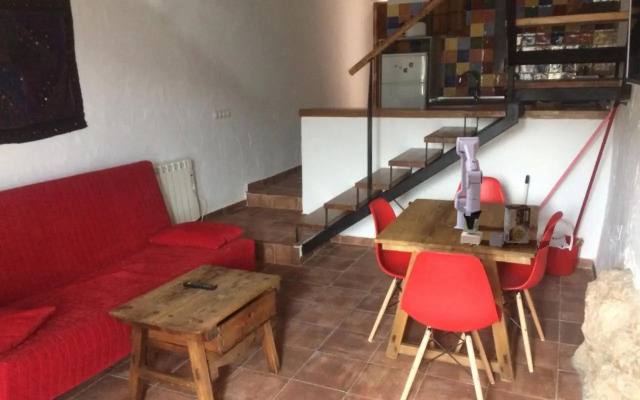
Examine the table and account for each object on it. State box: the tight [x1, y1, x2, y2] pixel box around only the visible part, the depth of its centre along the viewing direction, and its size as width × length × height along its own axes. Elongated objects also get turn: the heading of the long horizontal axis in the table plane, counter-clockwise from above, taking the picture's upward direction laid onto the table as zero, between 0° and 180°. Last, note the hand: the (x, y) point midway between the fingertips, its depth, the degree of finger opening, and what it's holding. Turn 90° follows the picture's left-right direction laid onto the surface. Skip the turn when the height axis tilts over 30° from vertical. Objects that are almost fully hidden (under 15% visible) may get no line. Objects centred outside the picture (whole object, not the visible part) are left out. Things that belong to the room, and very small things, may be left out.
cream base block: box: [460, 230, 483, 246], centre depth 226 cm, size 8×8×4 cm
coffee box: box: [503, 204, 531, 244], centre depth 223 cm, size 9×6×16 cm
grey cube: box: [488, 231, 505, 248], centre depth 220 cm, size 5×5×5 cm
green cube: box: [463, 219, 480, 233], centre depth 225 cm, size 5×5×5 cm
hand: (472, 227), depth 225 cm, fingers closed on green cube, 5 cm apart
